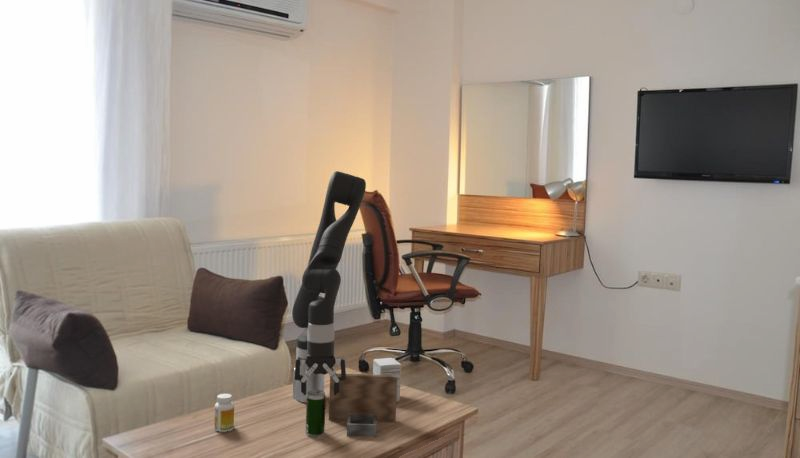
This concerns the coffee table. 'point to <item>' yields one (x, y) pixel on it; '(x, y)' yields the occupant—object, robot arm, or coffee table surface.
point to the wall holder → (363, 402)
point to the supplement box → (388, 370)
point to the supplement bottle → (224, 413)
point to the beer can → (315, 413)
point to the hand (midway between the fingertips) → (320, 394)
